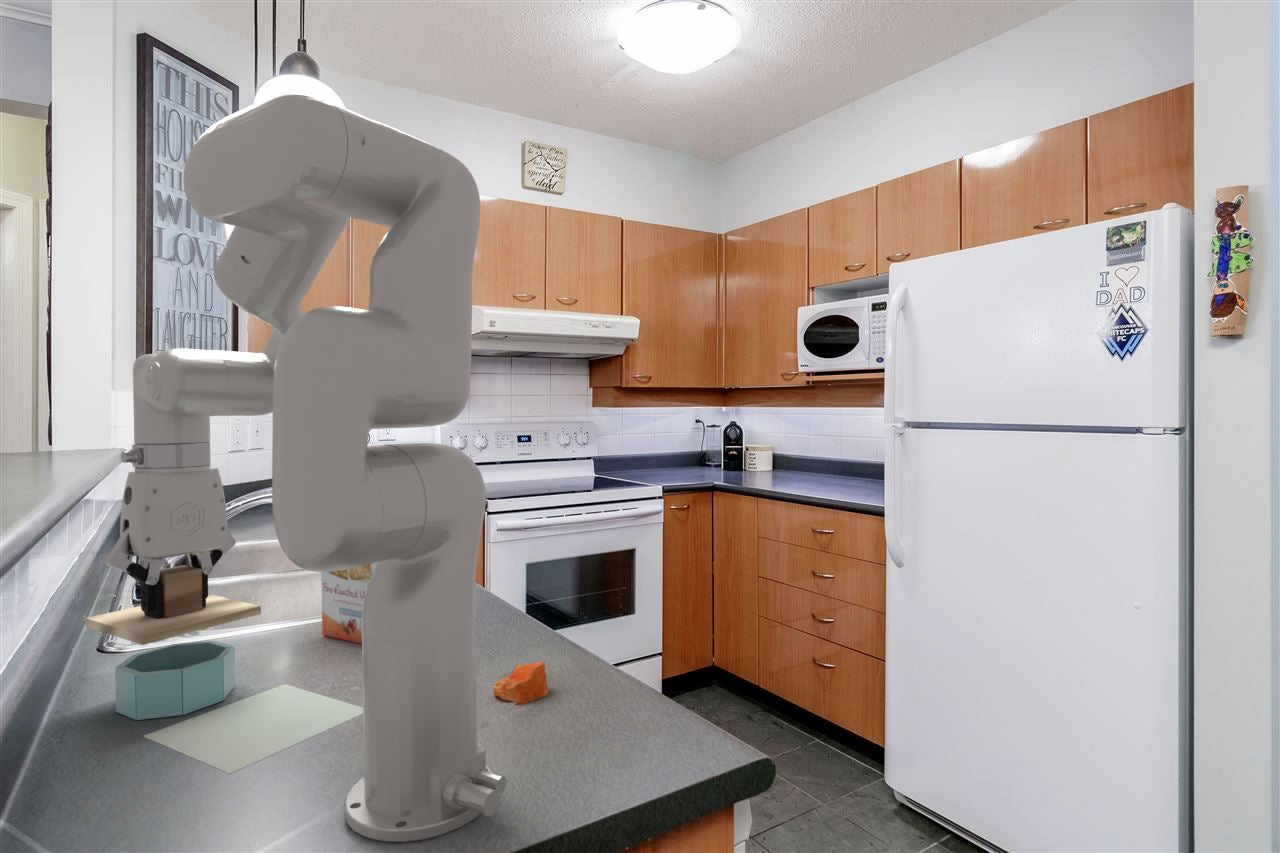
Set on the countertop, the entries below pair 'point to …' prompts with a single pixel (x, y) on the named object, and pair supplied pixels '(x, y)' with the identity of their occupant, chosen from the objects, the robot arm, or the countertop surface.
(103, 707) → the countertop surface
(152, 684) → the bowl
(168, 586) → the lid
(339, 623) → the cracker box
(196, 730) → the mat
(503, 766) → the countertop surface
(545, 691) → the rock
